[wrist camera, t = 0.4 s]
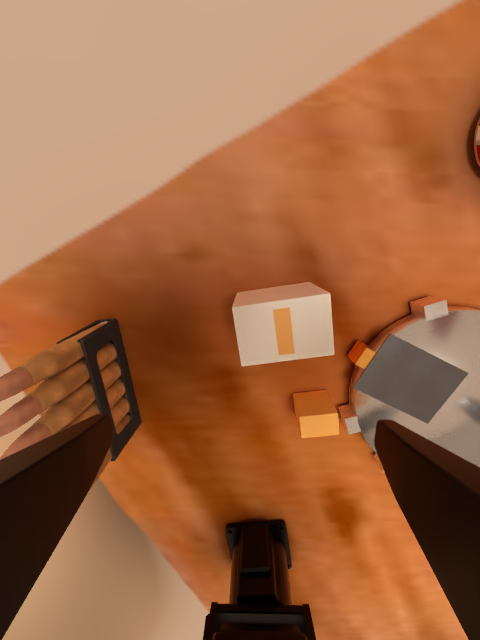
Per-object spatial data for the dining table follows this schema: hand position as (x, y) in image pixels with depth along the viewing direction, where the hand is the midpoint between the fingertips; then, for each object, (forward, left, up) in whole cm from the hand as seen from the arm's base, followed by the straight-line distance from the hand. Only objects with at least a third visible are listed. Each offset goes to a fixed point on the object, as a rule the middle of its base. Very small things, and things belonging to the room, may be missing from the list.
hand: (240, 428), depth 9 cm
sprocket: (-9, -16, -14) cm, 23 cm away
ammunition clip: (-3, +12, -14) cm, 19 cm away
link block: (+1, -3, -14) cm, 14 cm away
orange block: (-8, -5, -14) cm, 17 cm away
